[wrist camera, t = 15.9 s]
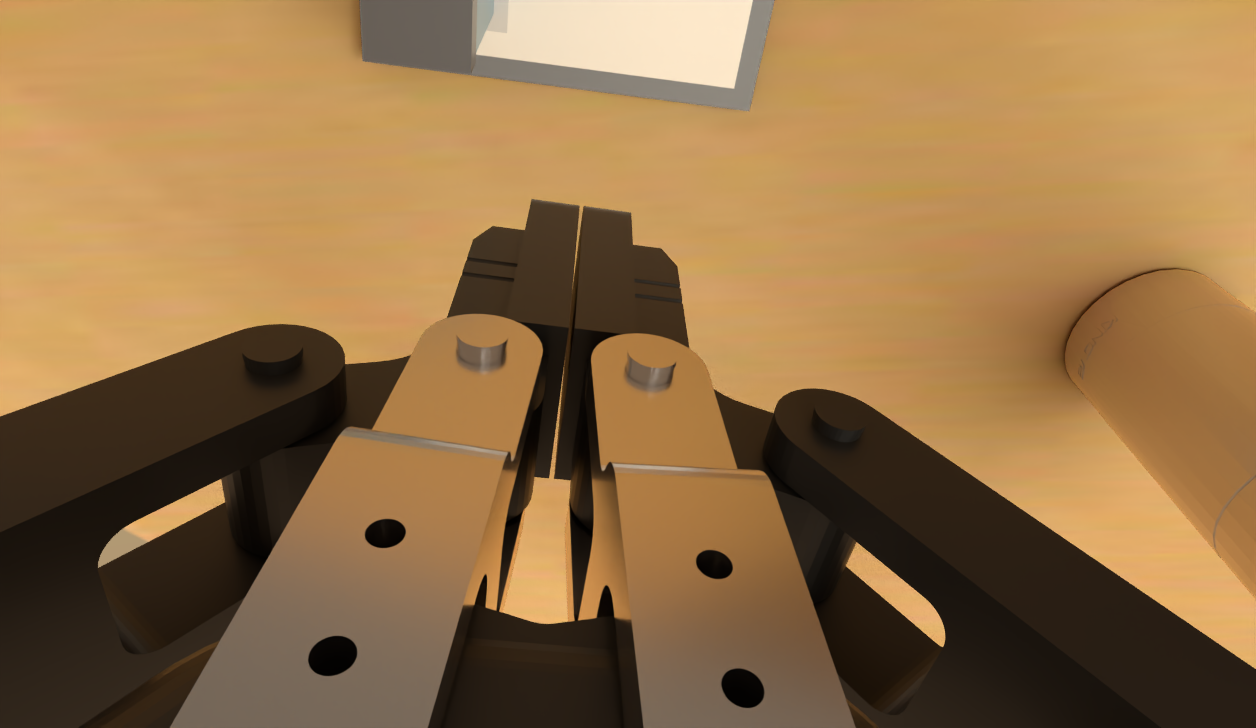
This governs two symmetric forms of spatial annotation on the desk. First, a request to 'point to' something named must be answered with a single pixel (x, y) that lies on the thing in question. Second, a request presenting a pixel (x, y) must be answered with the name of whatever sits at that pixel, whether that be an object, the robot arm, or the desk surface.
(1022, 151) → the desk surface
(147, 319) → the desk surface
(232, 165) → the desk surface
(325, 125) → the desk surface
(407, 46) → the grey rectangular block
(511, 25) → the whiteboard
